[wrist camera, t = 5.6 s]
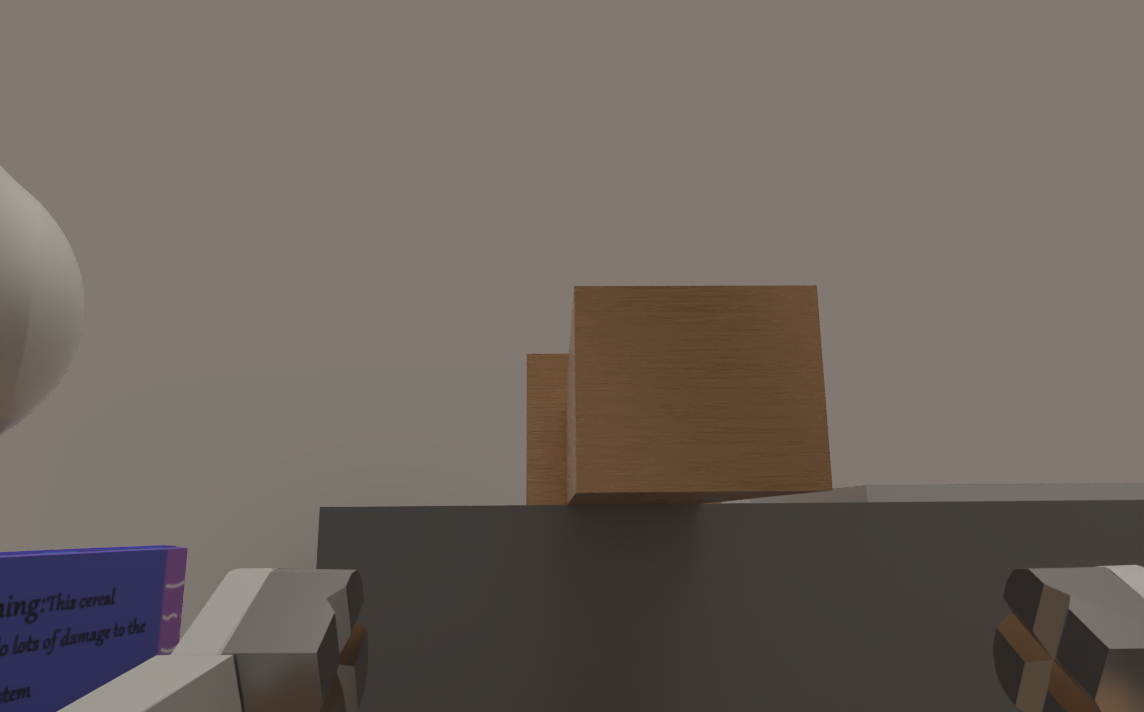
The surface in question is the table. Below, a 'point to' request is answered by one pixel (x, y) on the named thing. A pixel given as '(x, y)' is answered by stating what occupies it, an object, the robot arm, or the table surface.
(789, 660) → the plain gray box
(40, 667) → the cereal box
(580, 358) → the brown flat block
